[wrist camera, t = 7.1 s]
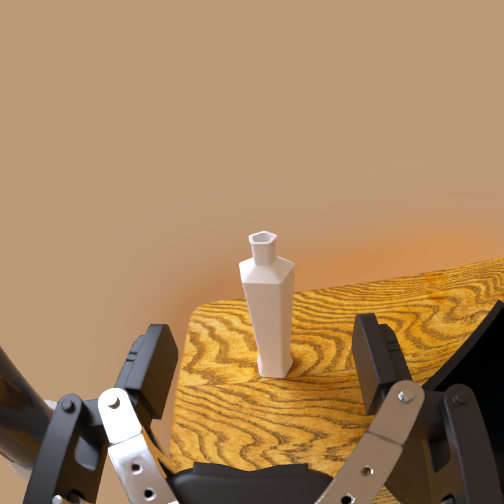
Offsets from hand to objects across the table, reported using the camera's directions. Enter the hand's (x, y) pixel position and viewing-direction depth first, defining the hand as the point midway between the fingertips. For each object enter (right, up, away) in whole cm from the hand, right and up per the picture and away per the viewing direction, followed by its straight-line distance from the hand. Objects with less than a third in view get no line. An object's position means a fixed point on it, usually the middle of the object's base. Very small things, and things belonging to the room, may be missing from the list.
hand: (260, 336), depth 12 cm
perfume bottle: (+2, -8, +18) cm, 20 cm away
